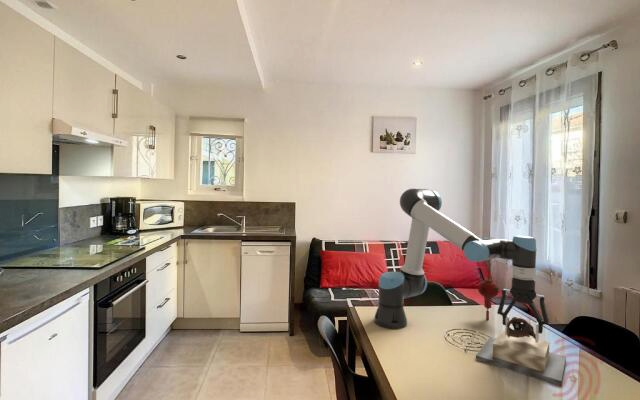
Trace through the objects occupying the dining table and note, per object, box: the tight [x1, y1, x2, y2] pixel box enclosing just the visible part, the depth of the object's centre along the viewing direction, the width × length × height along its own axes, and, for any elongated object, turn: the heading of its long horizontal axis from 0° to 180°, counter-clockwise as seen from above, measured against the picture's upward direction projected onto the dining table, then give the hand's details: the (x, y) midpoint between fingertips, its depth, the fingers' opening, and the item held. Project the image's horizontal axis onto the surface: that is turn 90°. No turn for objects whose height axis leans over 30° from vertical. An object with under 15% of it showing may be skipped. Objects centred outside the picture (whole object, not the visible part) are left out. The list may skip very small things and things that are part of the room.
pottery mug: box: [507, 316, 536, 339], centre depth 126 cm, size 12×10×8 cm
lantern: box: [477, 271, 500, 321], centre depth 167 cm, size 10×10×30 cm
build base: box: [475, 330, 567, 386], centre depth 126 cm, size 26×22×6 cm
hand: (521, 337), depth 126 cm, fingers closed on pottery mug, 9 cm apart
